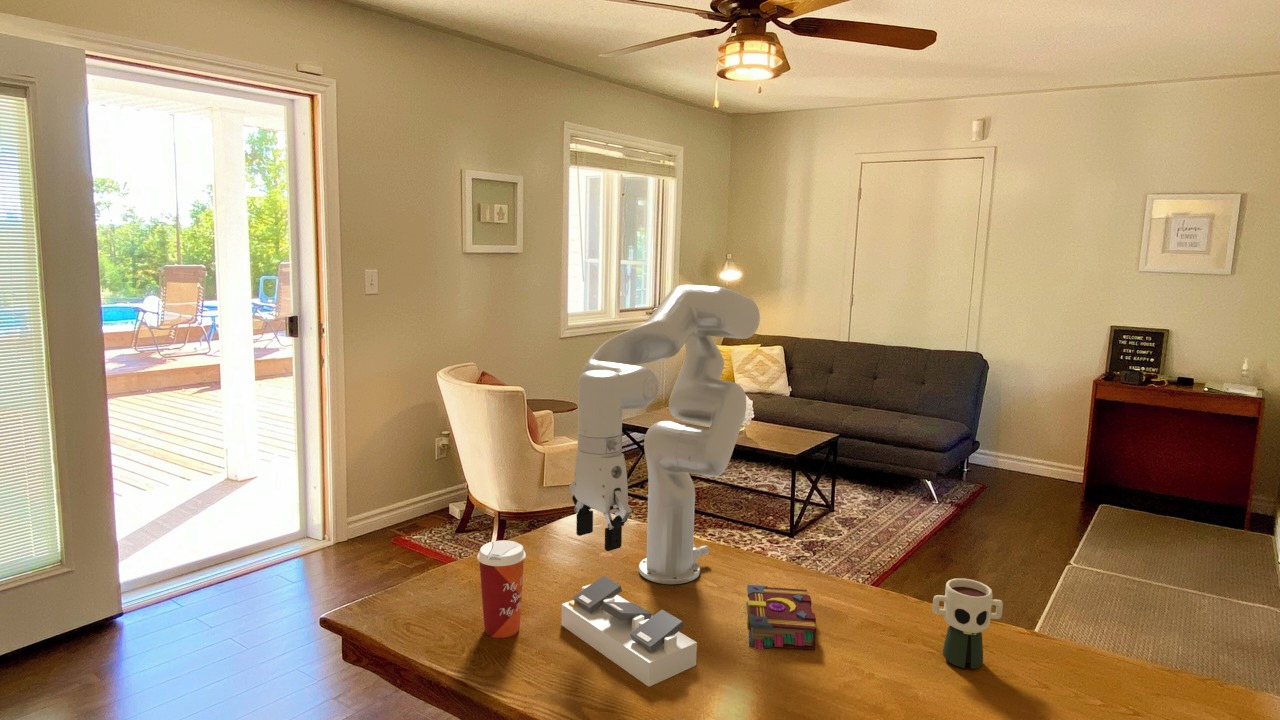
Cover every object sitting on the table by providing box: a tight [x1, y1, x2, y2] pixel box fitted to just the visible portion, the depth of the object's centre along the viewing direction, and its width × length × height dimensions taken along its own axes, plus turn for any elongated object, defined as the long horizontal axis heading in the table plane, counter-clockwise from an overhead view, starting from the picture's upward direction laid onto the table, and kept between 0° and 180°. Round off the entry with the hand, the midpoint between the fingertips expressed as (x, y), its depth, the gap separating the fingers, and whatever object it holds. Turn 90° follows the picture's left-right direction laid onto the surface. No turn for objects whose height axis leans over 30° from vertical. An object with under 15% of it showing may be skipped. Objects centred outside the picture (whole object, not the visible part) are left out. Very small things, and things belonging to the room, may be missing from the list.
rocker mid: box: [601, 601, 653, 620], centre depth 131 cm, size 7×5×2 cm
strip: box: [560, 583, 698, 688], centre depth 133 cm, size 10×27×6 cm, turn 40°
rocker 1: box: [572, 575, 623, 613], centre depth 137 cm, size 7×5×2 cm
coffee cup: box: [476, 539, 527, 639], centre depth 135 cm, size 8×8×15 cm
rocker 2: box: [630, 609, 685, 653], centre depth 125 cm, size 7×5×2 cm
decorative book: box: [745, 584, 817, 651], centre depth 138 cm, size 11×16×5 cm
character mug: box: [931, 578, 1004, 669], centre depth 128 cm, size 11×7×13 cm, turn 83°
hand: (598, 540), depth 136 cm, fingers open, 7 cm apart
